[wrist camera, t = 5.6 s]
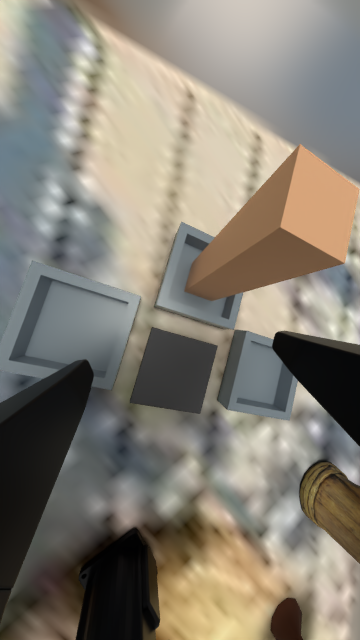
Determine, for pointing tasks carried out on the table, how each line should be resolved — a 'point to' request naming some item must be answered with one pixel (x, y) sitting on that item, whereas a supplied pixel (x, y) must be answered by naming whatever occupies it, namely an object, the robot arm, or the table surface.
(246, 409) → the empty tray
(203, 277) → the orange block
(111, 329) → the empty tray
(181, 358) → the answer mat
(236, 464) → the table surface
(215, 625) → the table surface
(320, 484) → the wooden mug
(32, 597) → the table surface
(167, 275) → the tray
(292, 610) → the ice cream bowl
